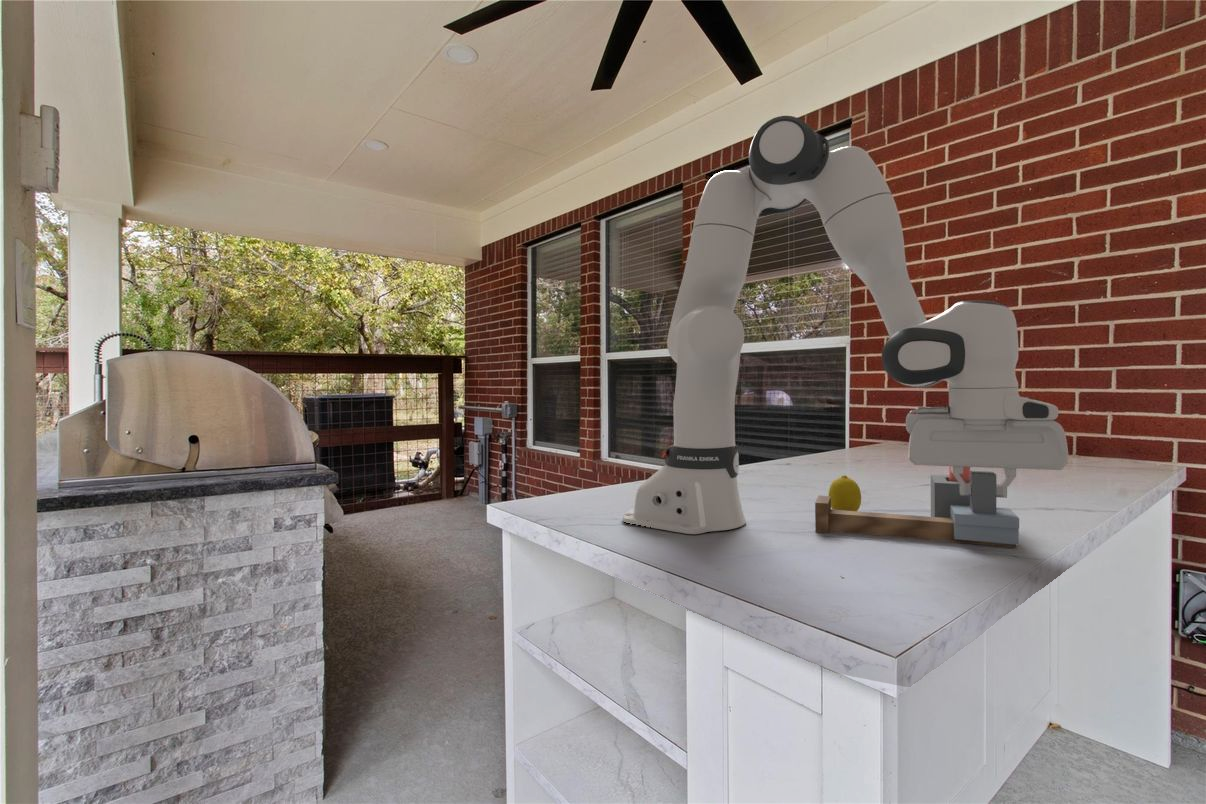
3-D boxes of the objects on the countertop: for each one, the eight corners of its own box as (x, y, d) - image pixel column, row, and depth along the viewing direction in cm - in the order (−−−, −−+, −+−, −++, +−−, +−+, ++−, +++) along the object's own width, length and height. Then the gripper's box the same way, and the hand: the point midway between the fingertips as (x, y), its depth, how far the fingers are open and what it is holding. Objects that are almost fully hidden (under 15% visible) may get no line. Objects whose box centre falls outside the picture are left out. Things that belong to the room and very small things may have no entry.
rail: (815, 531, 94) (815, 502, 94) (818, 523, 99) (818, 495, 99) (1018, 550, 82) (1018, 516, 81) (1009, 539, 87) (1010, 507, 87)
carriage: (954, 539, 85) (954, 474, 84) (950, 529, 91) (950, 468, 90) (1019, 545, 81) (1019, 477, 81) (1010, 534, 87) (1010, 470, 87)
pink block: (950, 498, 94) (950, 463, 94) (948, 494, 97) (948, 460, 97) (971, 499, 93) (971, 464, 92) (968, 496, 95) (968, 461, 95)
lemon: (864, 522, 99) (864, 478, 99) (831, 522, 100) (831, 477, 100) (857, 515, 104) (856, 472, 104) (825, 514, 105) (825, 472, 105)
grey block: (934, 530, 93) (934, 482, 93) (930, 518, 100) (930, 474, 100) (992, 534, 90) (992, 485, 89) (983, 522, 97) (983, 477, 96)
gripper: (906, 408, 87) (907, 495, 88) (1072, 407, 78) (1072, 505, 78) (904, 405, 93) (905, 488, 93) (1059, 405, 84) (1059, 496, 84)
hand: (982, 495), depth 86 cm, fingers closed on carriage, 3 cm apart
